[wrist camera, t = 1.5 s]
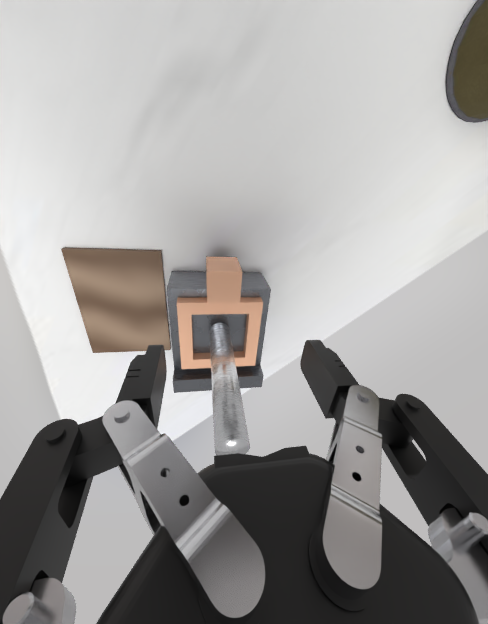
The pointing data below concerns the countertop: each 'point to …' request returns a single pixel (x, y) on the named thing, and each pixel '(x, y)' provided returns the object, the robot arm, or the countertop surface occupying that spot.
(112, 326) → the board
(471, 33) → the canister
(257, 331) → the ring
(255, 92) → the countertop surface
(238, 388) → the block
